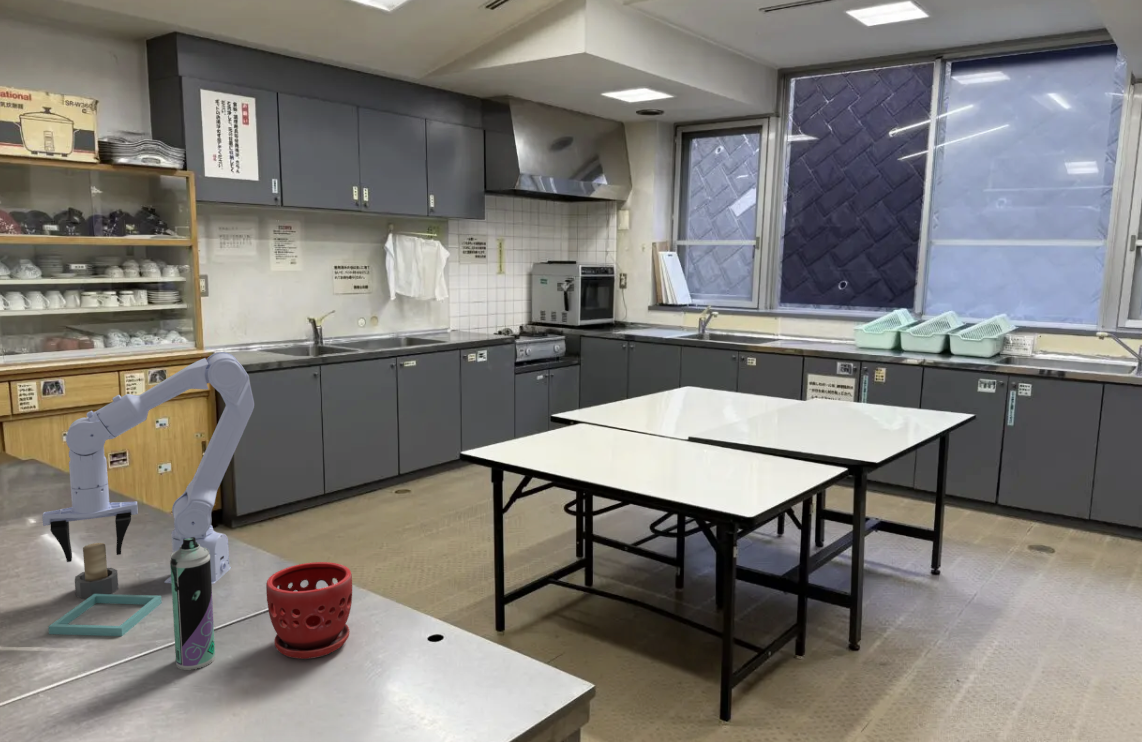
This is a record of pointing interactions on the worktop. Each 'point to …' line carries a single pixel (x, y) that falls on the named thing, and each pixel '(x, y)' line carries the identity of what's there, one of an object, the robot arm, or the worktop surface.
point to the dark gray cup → (96, 584)
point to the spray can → (192, 605)
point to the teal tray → (65, 628)
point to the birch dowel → (95, 561)
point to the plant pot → (310, 609)
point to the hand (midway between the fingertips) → (94, 556)
